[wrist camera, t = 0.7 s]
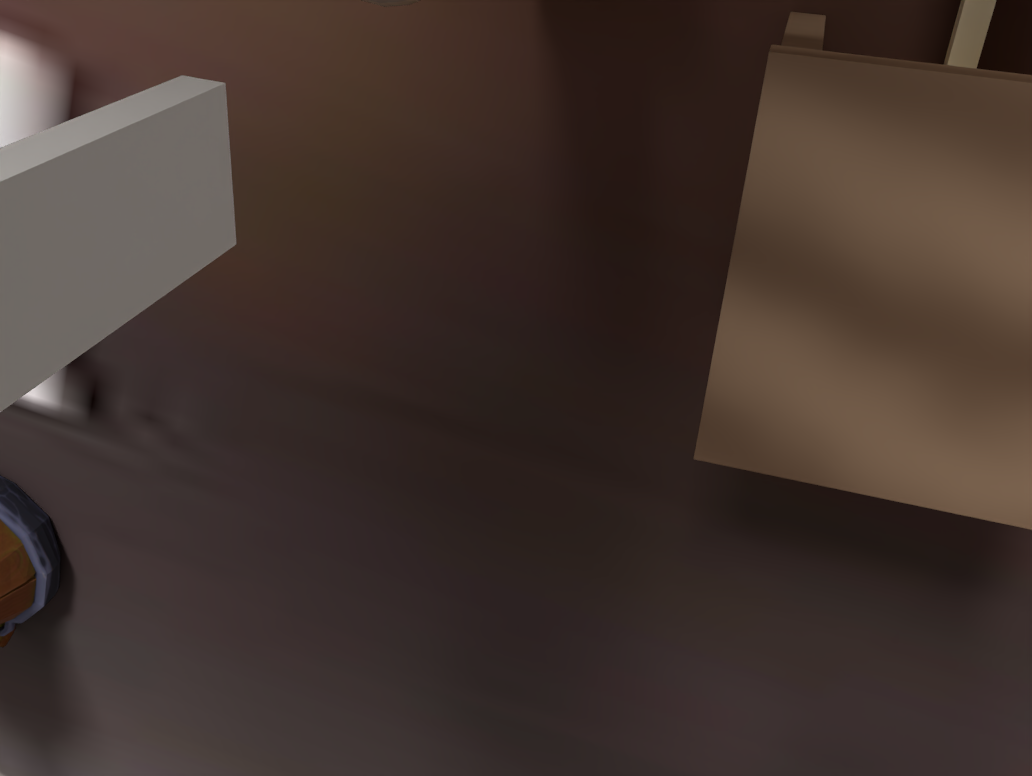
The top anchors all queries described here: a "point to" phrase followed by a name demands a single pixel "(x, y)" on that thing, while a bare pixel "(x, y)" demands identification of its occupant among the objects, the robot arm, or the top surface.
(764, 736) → the top surface
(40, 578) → the mug
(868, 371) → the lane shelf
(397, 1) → the wooden block
